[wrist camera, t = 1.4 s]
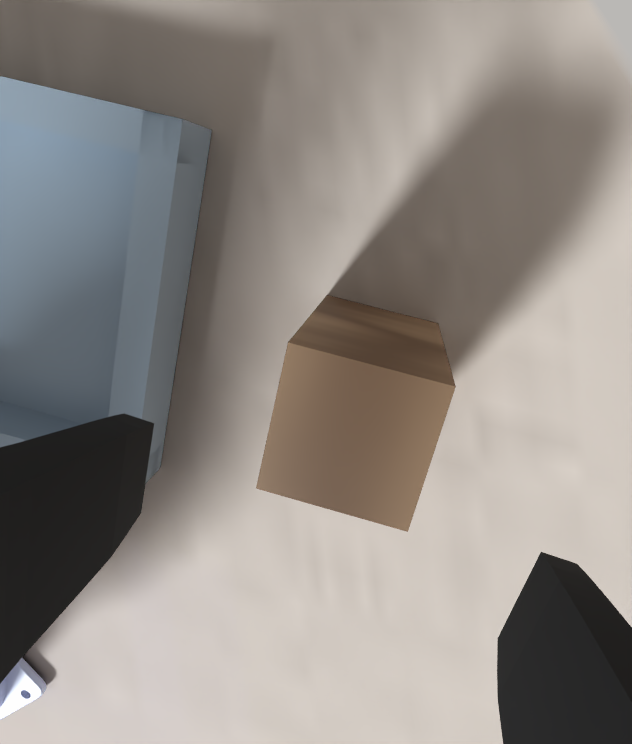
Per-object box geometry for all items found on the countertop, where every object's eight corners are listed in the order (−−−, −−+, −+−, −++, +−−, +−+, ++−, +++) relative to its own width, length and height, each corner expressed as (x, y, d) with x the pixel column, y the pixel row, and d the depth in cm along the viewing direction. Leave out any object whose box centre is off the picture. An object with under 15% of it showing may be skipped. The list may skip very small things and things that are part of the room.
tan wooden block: (302, 397, 21) (256, 488, 14) (327, 295, 20) (287, 342, 13) (406, 425, 21) (407, 531, 14) (438, 323, 19) (455, 386, 13)
